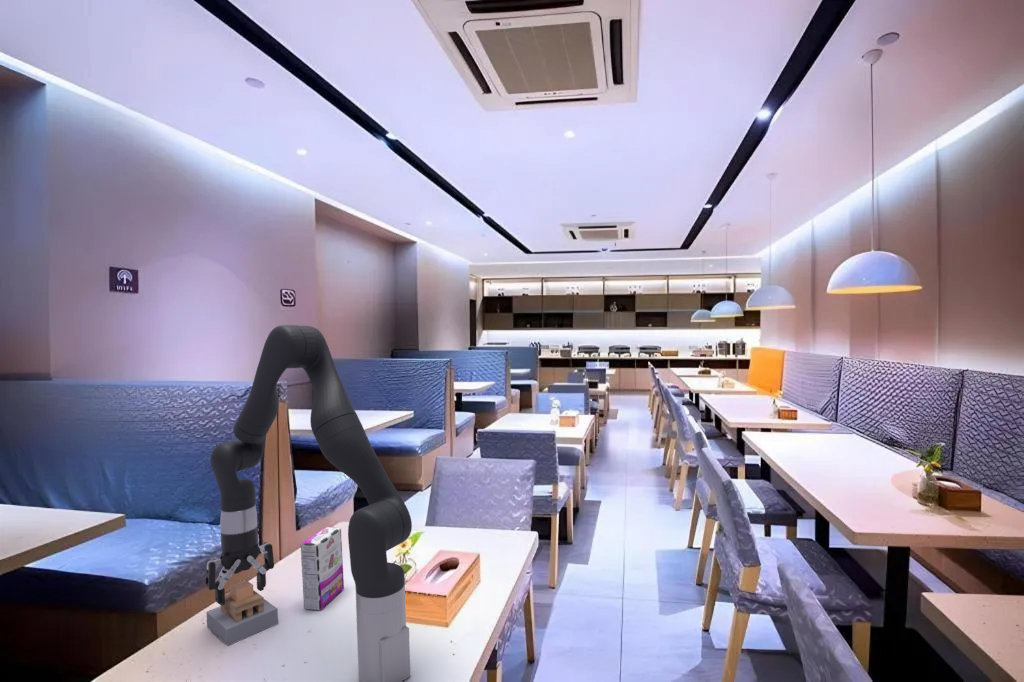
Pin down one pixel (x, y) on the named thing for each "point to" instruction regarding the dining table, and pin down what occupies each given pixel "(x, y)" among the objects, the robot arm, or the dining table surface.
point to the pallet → (243, 606)
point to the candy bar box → (322, 568)
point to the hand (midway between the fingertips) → (241, 596)
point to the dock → (241, 623)
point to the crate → (241, 591)
